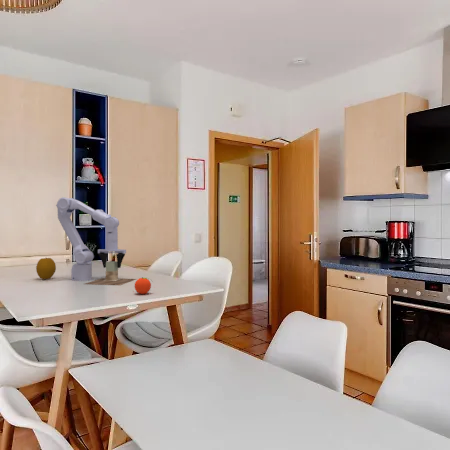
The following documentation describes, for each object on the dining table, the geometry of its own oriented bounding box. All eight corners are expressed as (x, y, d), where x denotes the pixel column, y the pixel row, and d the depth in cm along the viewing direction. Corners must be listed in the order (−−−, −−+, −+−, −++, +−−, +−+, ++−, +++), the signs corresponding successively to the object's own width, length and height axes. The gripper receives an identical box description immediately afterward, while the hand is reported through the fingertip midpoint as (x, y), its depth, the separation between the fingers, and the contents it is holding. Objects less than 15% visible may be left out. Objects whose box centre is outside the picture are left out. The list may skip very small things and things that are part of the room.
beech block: (105, 280, 206) (105, 271, 206) (109, 278, 210) (109, 270, 210) (113, 280, 205) (113, 271, 205) (118, 279, 209) (117, 270, 209)
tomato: (150, 291, 180) (150, 275, 180) (155, 294, 174) (155, 277, 174) (132, 293, 176) (132, 276, 176) (137, 296, 170) (136, 279, 170)
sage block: (105, 271, 206) (105, 262, 206) (110, 270, 210) (109, 261, 210) (114, 271, 205) (114, 262, 205) (118, 270, 209) (118, 261, 209)
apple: (51, 280, 212) (50, 258, 211) (32, 280, 212) (32, 258, 212) (59, 277, 221) (58, 256, 221) (41, 277, 222) (41, 256, 221)
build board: (82, 286, 194) (82, 283, 194) (103, 279, 214) (103, 277, 214) (120, 287, 191) (120, 285, 191) (137, 280, 210) (137, 278, 210)
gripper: (94, 241, 205) (94, 268, 205) (121, 241, 202) (121, 268, 202) (101, 240, 212) (101, 266, 212) (127, 240, 209) (127, 267, 209)
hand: (112, 267), depth 208 cm, fingers open, 7 cm apart
